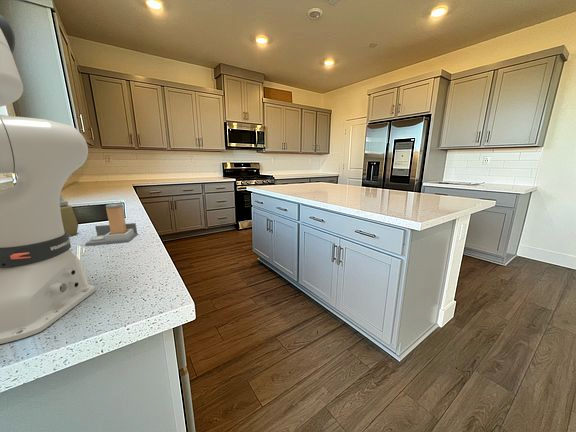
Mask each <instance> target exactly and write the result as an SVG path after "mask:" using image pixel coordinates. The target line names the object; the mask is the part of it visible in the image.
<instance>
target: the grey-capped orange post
mask: <svg viewBox="0 0 576 432" xmlns="http://www.w3.org/2000/svg"><path fill="white" fill-rule="evenodd" d="M123 205H124V204H123V203H122V202H121V203H118V202H117V203H108V204H106V205H105V209H106V210H105V211H106V214H107V215H106V216H107V219H108V225H109V226H110V231H111V234H124V233H126V232H127V229H126V224H127V223H126V218H125V213H124V207H123Z"/></svg>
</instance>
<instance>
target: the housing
mask: <svg viewBox="0 0 576 432" xmlns="http://www.w3.org/2000/svg"><path fill="white" fill-rule="evenodd" d="M94 227H95V231H96V236H92V237H90V240H89V241H87V242H85V245H84V246H86V247H89V246H100V245H102V244H103V245H110V244H111V245H112V244H113V243H114V244H123V242H125V243H130V242H131V241H132V240H133V239H135V238H136V236H137V235H138V230H137V224H136V222H131V223H126V229H127V232H126V233H124V234H111V231H110V226H109V224H103V225H95V226H94ZM129 241H130V242H129Z"/></svg>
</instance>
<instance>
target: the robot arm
mask: <svg viewBox="0 0 576 432" xmlns="http://www.w3.org/2000/svg"><path fill="white" fill-rule="evenodd" d="M15 46H16V39H15V33H14V30H13V28H12V26H11V24H10V23H9V21H8V20H7V19H6V18H5V17H4V16H3V15H1V14H0V108H1V107H6V106H8V105H11V104H13V103H14V102H16V101H18V100H19V99H20V98H21V97H22V95H23V93H24V84H23V81H22V78H21V76H20V73H19V70H18V67H17V65H16V61H15V59H14V56H13V53H14V51H15ZM88 155H89V147H88V142H87V141H86V139H85V137H84V135H83V134H82V133H81V132H80V131H79V130H78V129H77V128H76V127H75V126H73V125H70V124H65V123H63V122H58V121H54V120H50V119H44V118H37V117H35V118H34V117H24V116H13V115H6V114H2V115H1V114H0V174H15V175H17V180H16V184H14V186H13V187H10V188H8V189H6V190H4V191H2V192H0V345H1V344H6V343H9V342H14V341H18V340H23V339H24V338H27V337H30V336H34V335H36V334H39V333H41V332H42V331H44V330H46V329H47V328H49V327H50V326H51V325H53V324H54V323H55V322H56V321H57V320H59V319H60V318H61V317H63V316H64V315H65V314H67V313H68V312H70V311H71V310H73V308H75V307H76V306H77V305H79V304H80V303H81V302H83V301H84V300H85V299H88V297H89V296H91V295H92V294H93V293H95V292H96V287H95V286H94V285H93V284H89V282H88V278H87V276H86V272H85V270H84V267H83V265H82V262H81V259H80V258H79V257H77V256H75V255H74V253H73V252H72V251H71V250H70V249H71V246H72V245H71V239H70V236H68V234H67V233H66V232H64V227H63V223H62V217H61V210H60V194H62V189H63V187H64V185H65V184H66V182H67V180H68V178H69V177H71V175H72V174H73V173H75V171H76V170H78V169H79V168H81V167H82V166H83V165H84V164H85V162H86V160H87V159H88Z"/></svg>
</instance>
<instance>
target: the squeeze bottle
mask: <svg viewBox="0 0 576 432" xmlns="http://www.w3.org/2000/svg"><path fill="white" fill-rule="evenodd" d="M61 194H62V193H61ZM61 194H60V210H61V217H62V223H63V227H64V232H66V233H67V234H68V237H72V236H74V235H77V234H78V228H79V223H78V221H77V218H76V215H75V212H74V209H73V206H71V205H69V203H68V200H64V198H63V196H62V195H61Z"/></svg>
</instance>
